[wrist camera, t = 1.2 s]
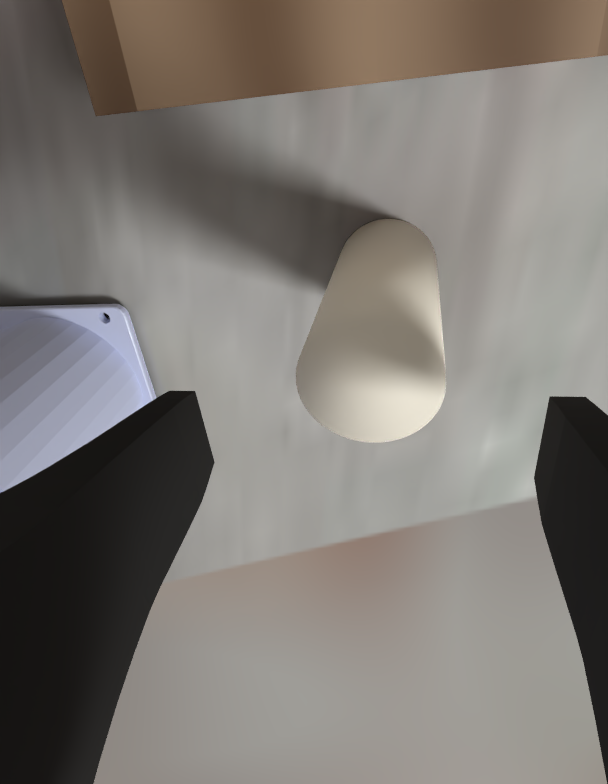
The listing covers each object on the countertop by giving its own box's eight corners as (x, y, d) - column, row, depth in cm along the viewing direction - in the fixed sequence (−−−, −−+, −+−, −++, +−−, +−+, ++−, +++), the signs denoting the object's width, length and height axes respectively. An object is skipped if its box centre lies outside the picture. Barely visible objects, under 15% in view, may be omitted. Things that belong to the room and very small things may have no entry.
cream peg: (341, 313, 20) (304, 440, 13) (335, 221, 18) (287, 317, 11) (434, 311, 19) (442, 444, 13) (438, 215, 17) (450, 314, 11)
